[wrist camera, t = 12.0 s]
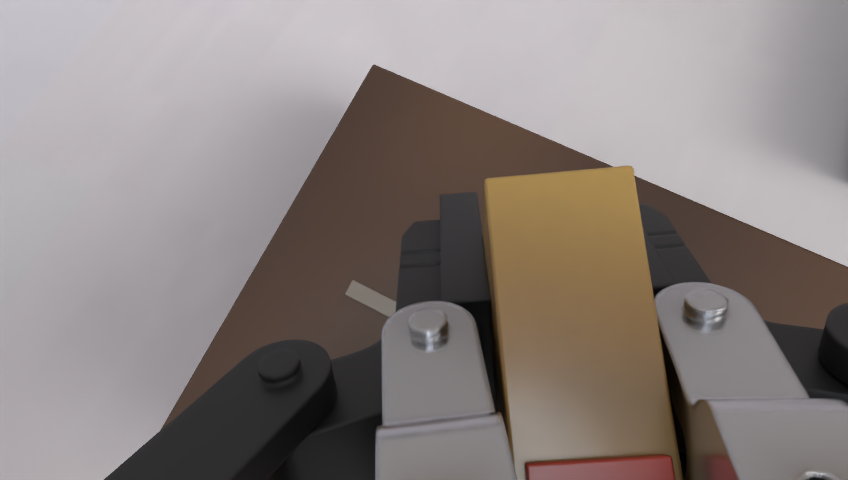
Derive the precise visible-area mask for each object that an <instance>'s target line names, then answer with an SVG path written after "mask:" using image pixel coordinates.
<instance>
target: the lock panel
mask: <svg viewBox="0 0 848 480" xmlns="http://www.w3.org/2000/svg"><path fill="white" fill-rule="evenodd" d="M608 167H613V166H610V165H608V164H606V163H603V162H601V161H599V160H596V159H594V158H592V157H589V156H587V155H585V154H582V153H580V152H577V151H575V150H573V149H570V148H568V147H566V146H563V145H561V144H559V143H556V142H554V141H552V140H549V139H547V138H545V137H542V136H540V135H538V134H535V133H533V132H531V131H528V130H526V129H524V128H521V127H519V126H517V125H514V124H512V123H510V122H507V121H505V120H503V119H500V118H498V117H496V116H493V115H491V114H489V113H486V112H484V111H482V110H479V109H477V108H475V107H472V106H470V105H468V104H465V103H463V102H461V101H458V100H456V99H454V98H451V97H449V96H447V95H444V94H442V93H440V92H437V91H435V90H433V89H430V88H428V87H426V86H423V85H421V84H418V83H416V82H414V81H411V80H409V79H407V78H404V77H402V76H400V75H397V74H395V73H393V72H390V71H388V70H386V69H383V68H381V67H379V66H376V65H373V66H372V67H371V69H370V71H369V73H368V74H367V76H366V78H365V79H364V81H363V83H362V85H361V86H360V88H359V90H358V91H357V93H356V95H355V97H354V98H353V100H352V102H351V103H350V105H349V107H348V109H347V110H346V112H345V114H344V116H343V117H342V119H341V121H340V122H339V124H338V126H337V128H336V129H335V131H334V133H333V134H332V136H331V138H330V140H329V141H328V143H327V145H326V146H325V148H324V150H323V152H322V153H321V155H320V157H319V159H318V160H317V162H316V164H315V165H314V167H313V169H312V171H311V172H310V174H309V176H308V177H307V179H306V181H305V183H304V184H303V186H302V188H301V190H300V191H299V193H298V195H297V196H296V198H295V200H294V202H293V203H292V205H291V207H290V208H289V210H288V212H287V214H286V215H285V217H284V219H283V220H282V222H281V224H280V226H279V227H278V229H277V231H276V233H275V234H274V236H273V238H272V239H271V241H270V243H269V245H268V246H267V248H266V250H265V251H264V253H263V255H262V257H261V258H260V260H259V262H258V263H257V265H256V267H255V269H254V270H253V272H252V274H251V276H250V277H249V279H248V281H247V282H246V284H245V286H244V288H243V289H242V291H241V293H240V294H239V296H238V298H237V300H236V301H235V303H234V305H233V306H232V308H231V310H230V312H229V313H228V315H227V317H226V319H225V320H224V322H223V324H222V325H221V327H220V329H219V331H218V332H217V334H216V336H215V337H214V339H213V341H212V343H211V344H210V346H209V348H208V349H207V351H206V353H205V355H204V356H203V358H202V360H201V362H200V363H199V365H198V367H197V368H196V370H195V372H194V374H193V375H192V377H191V379H190V380H189V382H188V384H187V386H186V387H185V389H184V391H183V393H182V394H181V396H180V398H179V399H178V401H177V403H176V405H175V406H174V408H173V410H172V411H171V413H170V415H169V417H168V418H167V420H166V422H165V423H164V425H163V427H162V429H163V428H164V427H165V426H167V425H168V424H169V423H170V422H171V421H172V420H173V419H175V418H176V417H177V416H178V415H179V414H180V413H182V412H183V411H184V410H185V409H186V408H187V407H189V406H190V405H191V404H192V403H193V402H194V401H195V400H197V399H198V398H199V397H200V396H201V395H202V394H204V393H205V392H206V391H207V390H208V389H209V388H210V387H212V386H213V385H214V384H215V383H216V382H217V381H219V380H220V379H221V378H222V377H223V376H224V375H225V374H227V373H228V372H229V371H230V370H231V369H232V368H234V367H235V366H236V365H237V364H238V363H239V362H241V361H242V360H243V359H244V358H245V357H247V356H248V355H249V354H250V353H252V352H254V351H255V350H257V349H259V348H261V347H263V346H265V345H268V344H271V343H274V342H278V341H283V340H295V339H299V340H307V341H311V342H314V343H316V344H318V345H320V346H321V347H323V348H324V349H325V350H326V351H327V353H328V355H329V356H330V360H332V359H335V358H338V357H342V356H345V355H349V354H352V353H355V352H358V351H361V350H363V349H365V348H367V347H369V346H371V345H373V344H375V343H376V342H378V341H379V340H380V339H381V338H382V328H383V326H384V324H385V322H386V321H387V319H388V318H389V317H390V316H391V315H392V314H394V313H395V312H396V300H397V289H398V277H399V268H400V255H401V242H402V236H403V235H404V233H405V232H406V231H407V230H408V229H409V227H410V226H411V225H412V224H413V223H414V222H419V221H431V220H440V198H439V195H443V194H455V193H467V192H477V196H478V203H479V211H480V218H481V225H482V232H483V192H484V180H485V179H487V178H495V177H506V176H518V175H529V174H540V173H552V172H563V171H574V170H586V169H597V168H608ZM634 177H635V183H636V189H637V196H638V202H639V204H644V203H646V204H648V205H649V206H651V207H653V208H654V209H656V210H658V211H659V212H661V213H663V214H664V215H666V216H667V218H668V219H669V221H670V222H671V224H672V225H673V227H674V228H675V229H676V233H677V234H679V235H680V237H681V238H682V240H683V241H684V243H685V247H688V249H689V250H690V252H691V253H692V255H693V256H694V258H695V259H696V261H697V262H698V264H699V265H700V267H701V268H702V270H703V271H704V273H705V274H706V276H707V277H708V279H709V280H710V282H711V283H712V284H716V285H720V286H723V287H727V288H729V289H732V290H734V291H736V292H738V293H740V294H742V295H743V296H745V297H746V298H747V299H749V300H750V301H751V302H752V303H753V304H754V306H755V307H756V308H757V310H758V312H759V313H760V315H761V317H762V318H763V320H765V321H769V322H774V323H780V324H787V325H794V326H802V327H810V328H818V329H824V327H825V323H826V319H827V316H828V314H829V313H830V311H831V310H832V309H834V308H835V307H837V306H839V305H842V304H845V303H848V267H846V266H844V265H842V264H839V263H837V262H835V261H832V260H830V259H828V258H825V257H823V256H821V255H818V254H816V253H814V252H811V251H809V250H807V249H804V248H802V247H800V246H797V245H795V244H793V243H790V242H788V241H786V240H783V239H781V238H779V237H776V236H774V235H772V234H769V233H767V232H765V231H762V230H760V229H758V228H755V227H753V226H751V225H748V224H746V223H744V222H741V221H739V220H736V219H734V218H732V217H729V216H727V215H725V214H722V213H720V212H718V211H715V210H713V209H711V208H708V207H706V206H704V205H701V204H699V203H697V202H694V201H692V200H690V199H687V198H685V197H683V196H680V195H678V194H676V193H673V192H671V191H669V190H666V189H664V188H662V187H659V186H657V185H655V184H652V183H650V182H648V181H645V180H643V179H641V178H638V177H636V176H634ZM162 429H161V430H162ZM161 430H160V431H161Z"/></svg>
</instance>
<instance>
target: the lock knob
mask: <svg viewBox="0 0 848 480" xmlns="http://www.w3.org/2000/svg"><path fill="white" fill-rule="evenodd" d="M482 236H483V244H484V251H485V258H486V266H487V273H488V281H489V288H490V295H491V309H492V325H493V341H494V358H495V374H496V391H497V409H498V412H501V415H502V417H503V421H504V425H505V429H506V433H507V437H508V442H509V446H510V450H511V455H512V459H513V463H514V468H515V472H516V477H517V480H683V476H682V469H681V463H680V457H679V451H678V444H677V438H676V432H675V426H674V420H673V413H672V407H671V401H670V395H669V388H668V382H667V376H666V370H665V364H664V357H663V351H662V345H661V339H660V332H659V326H658V320H657V314H656V308H655V301H654V295H653V289H652V283H651V276H650V270H649V264H648V258H647V252H646V245H645V239H644V233H643V227H642V220H641V214H640V208H639V202H638V196H637V189H636V183H635V177H634V171H633V168H632V166H620V167H608V168H597V169H586V170H574V171H563V172H552V173H540V174H529V175H518V176H506V177H495V178H487V179H485V180H484V192H483V232H482Z"/></svg>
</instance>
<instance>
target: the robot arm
mask: <svg viewBox="0 0 848 480" xmlns="http://www.w3.org/2000/svg"><path fill="white" fill-rule="evenodd" d="M439 198H440V220H431V221H419V222H414V223H413V224H412V225H411V226H410V227H409V229H408V230H407V231H406V232H405V233H404V235H403V236H402V242H401V255H400V268H399V277H398V289H397V300H396V312H395V313H394V314H392V315H391V316H390V317H389V318H388V319H387V321H386V322H385V324H384V326H383V328H382V338H381V339H380V340H379V341H378V342H376V343H375V344H373V345H371V346H369V347H367V348H365V349H363V350H361V351H358V352H355V353H352V354H349V355H345V356H342V357H338V358H335V359H332V360H330V356H329V355H328V353H327V351H326V350H325V349H324V348H323V347H321V346H320V345H318V344H316V343H314V342H311V341H307V340H299V339H295V340H283V341H278V342H274V343H271V344H268V345H265V346H263V347H261V348H259V349H257V350H255V351H254V352H252V353H250V354H249V355H248V356H247V357H245V358H244V359H243V360H242V361H241V362H239V363H238V364H237V365H236V366H235V367H234V368H232V369H231V370H230V371H229V372H228V373H227V374H225V375H224V376H223V377H222V378H221V379H220V380H219V381H217V382H216V383H215V384H214V385H213V386H212V387H210V388H209V389H208V390H207V391H206V392H205V393H204V394H202V395H201V396H200V397H199V398H198V399H197V400H195V401H194V402H193V403H192V404H191V405H190V406H189V407H187V408H186V409H185V410H184V411H183V412H182V413H180V414H179V415H178V416H177V417H176V418H175V419H173V420H172V421H171V422H170V423H169V424H168V425H167V426H165V427H164V428H163V429H162V430H161V431H160V432H158V433H157V434H156V435H155V436H154V437H153V438H152V439H150V440H149V441H148V442H147V443H146V444H145V445H143V446H142V447H141V448H140V449H139V450H138V451H137V452H135V453H134V454H133V455H132V456H131V457H130V458H128V459H127V460H126V461H125V462H124V463H123V464H121V465H120V466H119V467H118V468H117V469H116V470H115V471H113V472H112V473H111V474H110V475H109V476H108V477H106V478H105V479H104V480H517V477H516V472H515V468H514V463H513V459H512V455H511V450H510V446H509V442H508V437H507V433H506V429H505V425H504V421H503V417H502V415H501V412H498V409H497V391H496V374H495V358H494V341H493V325H492V309H491V295H490V288H489V281H488V273H487V266H486V258H485V251H484V244H483V236H482V225H481V218H480V211H479V203H478V196H477V192H467V193H455V194H443V195H439ZM639 208H640V214H641V220H642V227H643V233H644V239H645V245H646V252H647V258H648V264H649V270H650V276H651V283H652V289H653V295H654V301H655V308H656V314H657V320H658V326H659V332H660V339H661V345H662V351H663V357H664V364H665V370H666V376H667V382H668V388H669V395H670V401H671V407H672V413H673V420H674V426H675V432H676V438H677V444H678V451H679V457H680V463H681V469H682V476H683V480H848V303H845V304H842V305H839V306H837V307H835V308H834V309H832V310H831V311H830V313H829V314H828V316H827V319H826V323H825V327H824V329H818V328H810V327H802V326H794V325H787V324H780V323H774V322H769V321H765V320H763V318H762V317H761V315H760V313H759V312H758V310H757V308H756V307H755V306H754V304H753V303H752V302H751V301H750V300H749V299H747V298H746V297H745V296H743V295H742V294H740V293H738V292H736V291H734V290H732V289H729V288H727V287H723V286H720V285H716V284H712V283H711V282H710V280H709V279H708V277H707V276H706V274H705V273H704V271H703V270H702V268H701V267H700V265H699V264H698V262H697V261H696V259H695V258H694V256H693V255H692V253H691V252H690V250H689V249H688V247H685V243H684V241H683V240H682V238H681V237H680V235H679V234H677V233H676V229H675V228H674V227H673V225H672V224H671V222H670V221H669V219H668V218H667V216H666V215H664V214H663V213H661V212H659V211H658V210H656V209H654V208H653V207H651V206H649V205H648V204H646V203H644V204H639Z"/></svg>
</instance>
